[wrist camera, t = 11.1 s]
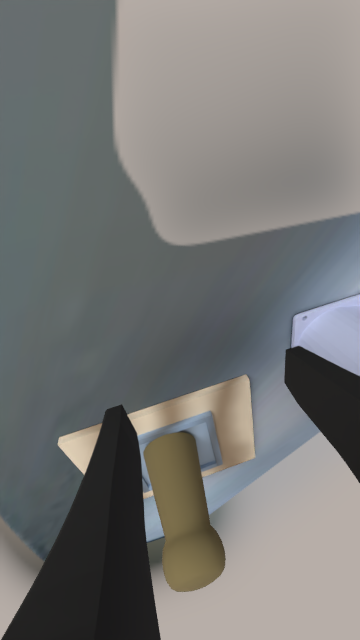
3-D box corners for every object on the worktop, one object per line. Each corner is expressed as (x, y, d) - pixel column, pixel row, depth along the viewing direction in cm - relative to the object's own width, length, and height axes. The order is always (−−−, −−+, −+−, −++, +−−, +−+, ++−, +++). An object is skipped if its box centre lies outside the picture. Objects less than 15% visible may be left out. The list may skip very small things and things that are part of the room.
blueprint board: (246, 374, 26) (252, 383, 25) (252, 452, 35) (257, 462, 34) (59, 437, 25) (56, 450, 23) (115, 502, 33) (115, 514, 32)
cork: (189, 458, 30) (224, 584, 22) (140, 466, 28) (156, 608, 20) (201, 429, 27) (247, 563, 18) (146, 436, 25) (168, 588, 17)
